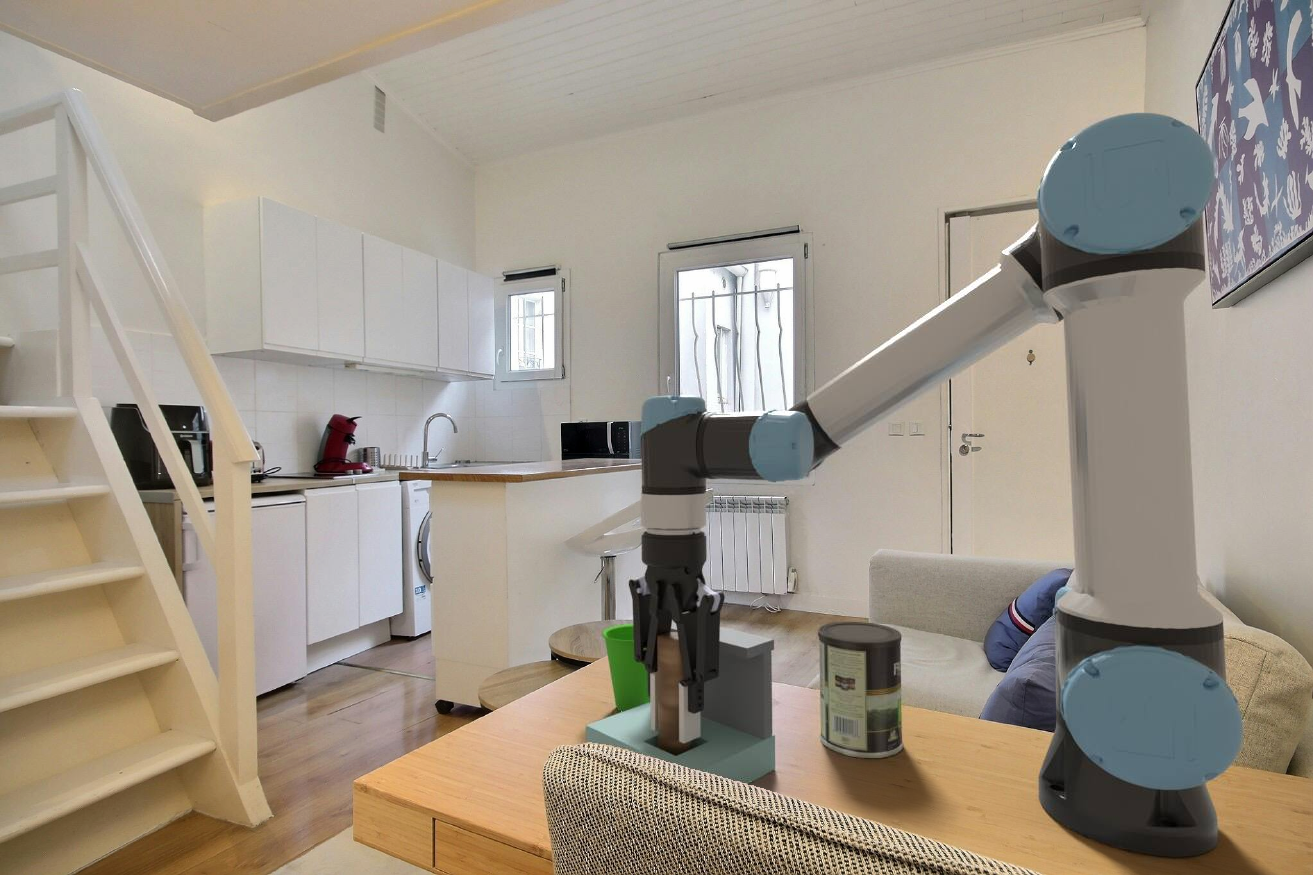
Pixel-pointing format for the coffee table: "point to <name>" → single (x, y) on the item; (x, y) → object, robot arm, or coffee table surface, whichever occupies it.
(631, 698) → the cup
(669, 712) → the peg
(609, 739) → the socket station
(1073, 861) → the coffee table surface
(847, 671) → the coffee can
